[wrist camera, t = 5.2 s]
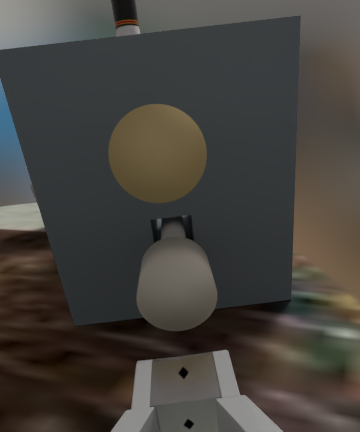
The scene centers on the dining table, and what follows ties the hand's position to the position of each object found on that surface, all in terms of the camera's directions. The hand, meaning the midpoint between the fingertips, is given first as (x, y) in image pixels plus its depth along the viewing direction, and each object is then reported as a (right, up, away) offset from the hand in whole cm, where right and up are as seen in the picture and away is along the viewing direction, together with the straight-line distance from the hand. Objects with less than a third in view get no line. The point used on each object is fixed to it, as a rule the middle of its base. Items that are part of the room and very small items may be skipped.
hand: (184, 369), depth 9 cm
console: (0, -2, +18) cm, 18 cm away
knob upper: (-1, +8, +9) cm, 12 cm away
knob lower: (0, +1, +12) cm, 12 cm away
